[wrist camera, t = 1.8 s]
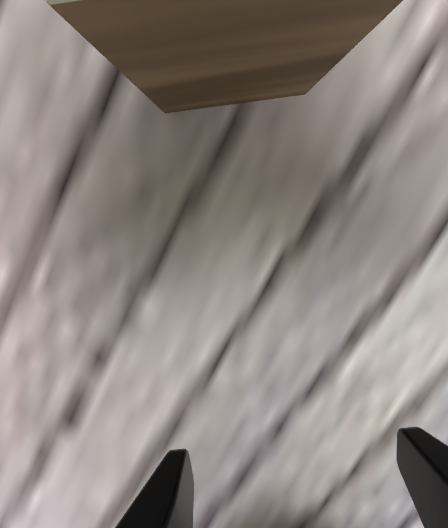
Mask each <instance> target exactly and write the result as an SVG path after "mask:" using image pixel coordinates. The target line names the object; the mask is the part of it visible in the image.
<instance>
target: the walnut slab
mask: <svg viewBox="0 0 448 528" xmlns="http://www.w3.org/2000/svg"><path fill="white" fill-rule="evenodd" d="M45 1H46V2H47V3H48V4H49V5H50V6H51V7H52V8H53V9H54V10H55V11H56V12H57V13H59V14H60V15H61V16H62V17H63V18H64V19H65V20H66V21H67V22H68V23H69V24H70V25H71V26H72V27H74V28H75V29H76V30H77V31H78V32H79V33H80V34H81V35H82V36H83V37H84V38H85V39H86V40H87V41H88V42H90V43H91V44H92V45H93V46H94V47H95V48H96V49H97V50H98V51H99V52H100V53H101V54H102V55H103V56H105V57H106V58H107V59H108V60H109V61H110V62H111V63H112V64H113V65H114V66H115V67H116V68H117V69H118V70H119V71H121V72H122V73H123V74H124V75H125V76H126V77H127V78H128V79H129V80H130V81H131V82H132V83H133V84H134V85H136V86H137V87H138V88H139V89H140V90H141V91H142V92H143V93H144V94H145V95H146V96H147V97H148V98H149V99H150V100H152V101H153V102H154V103H155V104H156V105H157V106H158V107H159V108H160V109H161V110H162V111H163V112H164V113H170V112H178V111H185V110H192V109H200V108H207V107H215V106H222V105H229V104H237V103H244V102H251V101H259V100H266V99H274V98H281V97H288V96H296V95H303V94H306V93H307V92H308V91H309V90H310V89H311V88H312V87H313V86H314V85H315V84H316V83H317V82H318V81H319V80H320V79H321V78H322V77H323V76H325V75H326V74H327V73H328V72H329V71H330V70H331V69H332V68H333V67H334V66H335V65H336V64H337V63H338V62H339V61H340V60H341V59H342V58H343V57H344V56H345V55H346V54H347V53H349V52H350V51H351V50H352V49H353V48H354V47H355V46H356V45H357V44H358V43H359V42H360V41H361V40H362V39H363V38H364V37H365V36H366V35H367V34H368V33H369V32H370V31H371V30H372V29H374V28H375V27H376V26H377V25H378V24H379V23H380V22H381V21H382V20H383V19H384V18H385V17H386V16H387V15H388V14H389V13H390V12H391V11H392V10H393V9H394V8H395V7H396V6H397V5H399V4H400V3H401V2H402V1H403V0H45Z"/></svg>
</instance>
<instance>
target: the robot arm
mask: <svg viewBox="0 0 448 528" xmlns="http://www.w3.org/2000/svg"><path fill="white" fill-rule="evenodd" d="M397 464H398V467H399V470H400V473H401V475H402V477H403V479H404V482H405V484H406V486H407V489H408V491H409V493H410V496H411V498H412V500H413V503H414V505H415V507H416V510H417V512H418V514H419V517H420V519H421V521H422V523H423V526H424V528H448V446H447V445H446V444H444V443H443V442H441V441H439V440H438V439H436V438H435V437H433V436H432V435H430V434H429V433H427V432H426V431H424V430H423V429H421V428H419V427H407V428H400V429H399V430H398V433H397ZM193 501H194V479H193V473H192V468H191V462H190V457H189V453H188V451H187V450H186V449H177V450H170V451H169V452H168V453H167V454H166V456H165V457H164V458H163V460H162V461H161V463H160V464H159V466H158V467H157V468H156V470H155V471H154V473H153V474H152V476H151V477H150V478H149V480H148V481H147V483H146V484H145V486H144V487H143V489H142V490H141V491H140V493H139V494H138V496H137V497H136V499H135V500H134V501H133V503H132V504H131V506H130V507H129V509H128V510H127V512H126V513H125V514H124V516H123V517H122V519H121V520H120V522H119V523H118V524H117V526H116V527H115V528H193Z"/></svg>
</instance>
